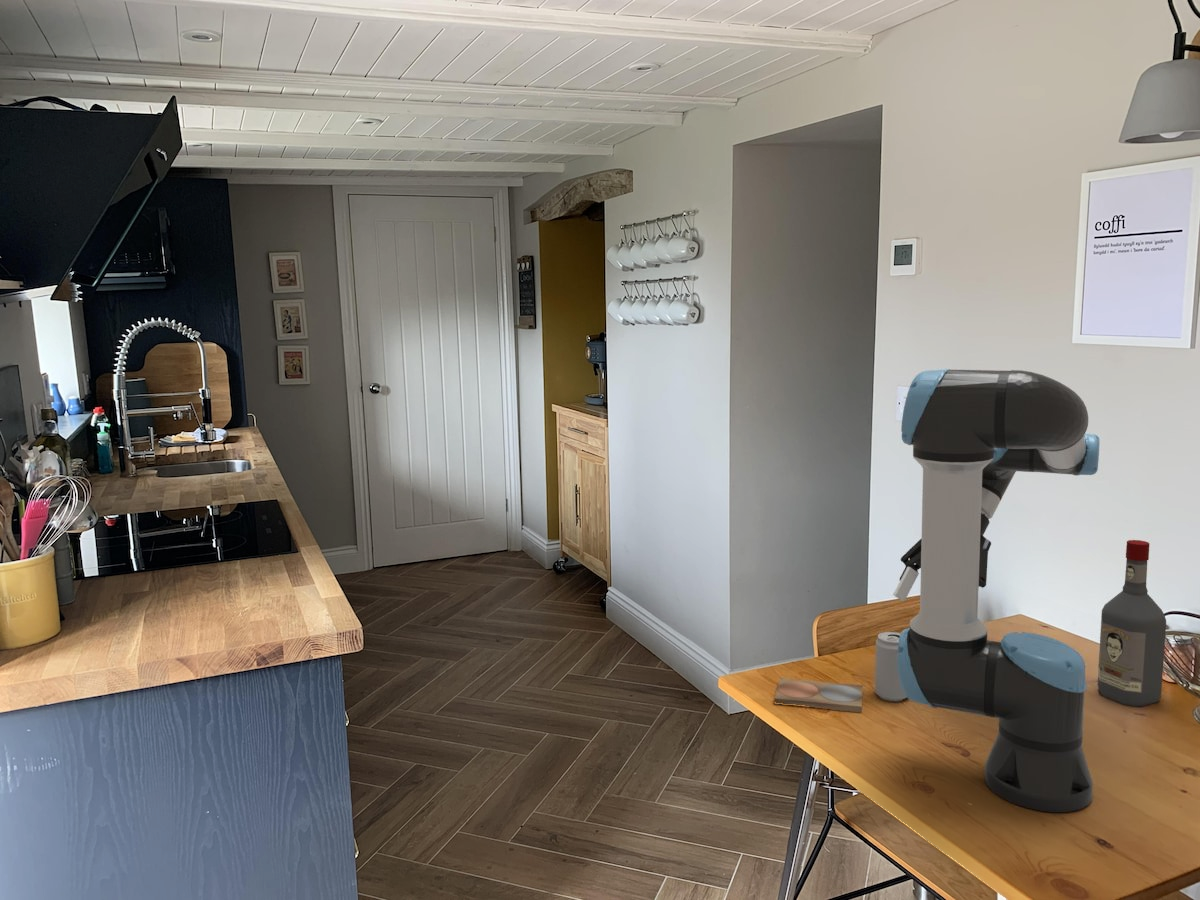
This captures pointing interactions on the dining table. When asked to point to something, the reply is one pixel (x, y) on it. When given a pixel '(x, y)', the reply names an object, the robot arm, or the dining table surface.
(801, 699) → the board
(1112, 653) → the liquor
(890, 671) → the beverage can
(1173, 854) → the dining table surface
